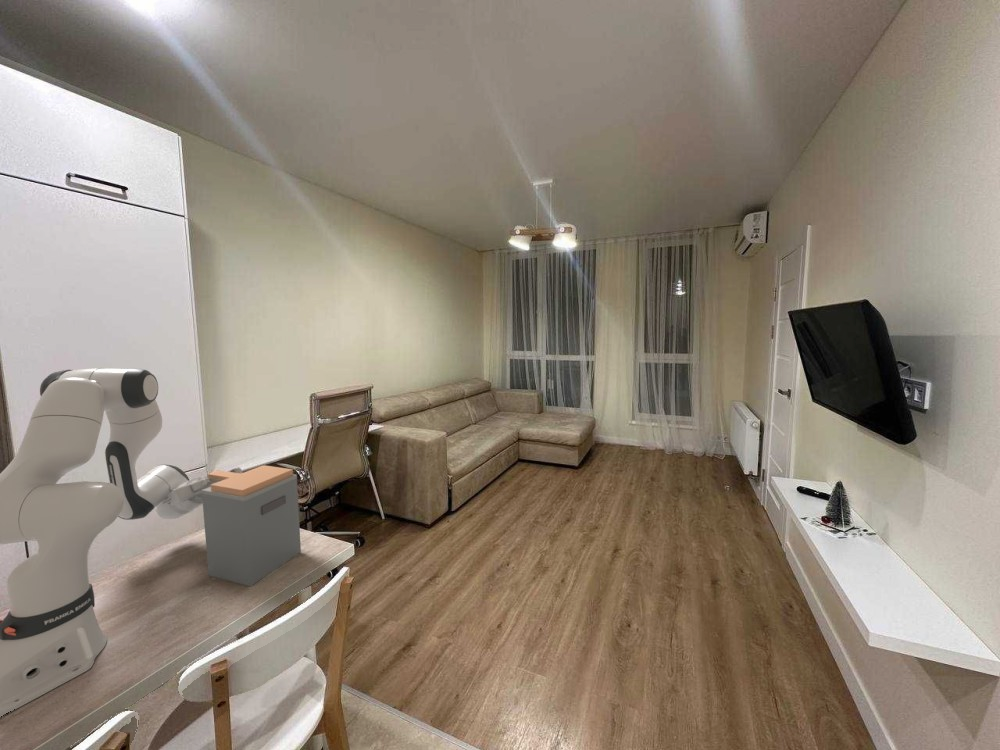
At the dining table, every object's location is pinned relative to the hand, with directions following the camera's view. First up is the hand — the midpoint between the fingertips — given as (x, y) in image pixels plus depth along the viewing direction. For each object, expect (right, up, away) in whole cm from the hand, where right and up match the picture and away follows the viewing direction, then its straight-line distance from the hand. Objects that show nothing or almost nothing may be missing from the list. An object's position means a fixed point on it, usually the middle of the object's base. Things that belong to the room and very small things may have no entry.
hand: (222, 475), depth 119 cm
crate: (+11, -27, -1) cm, 29 cm away
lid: (+7, -1, -2) cm, 7 cm away
